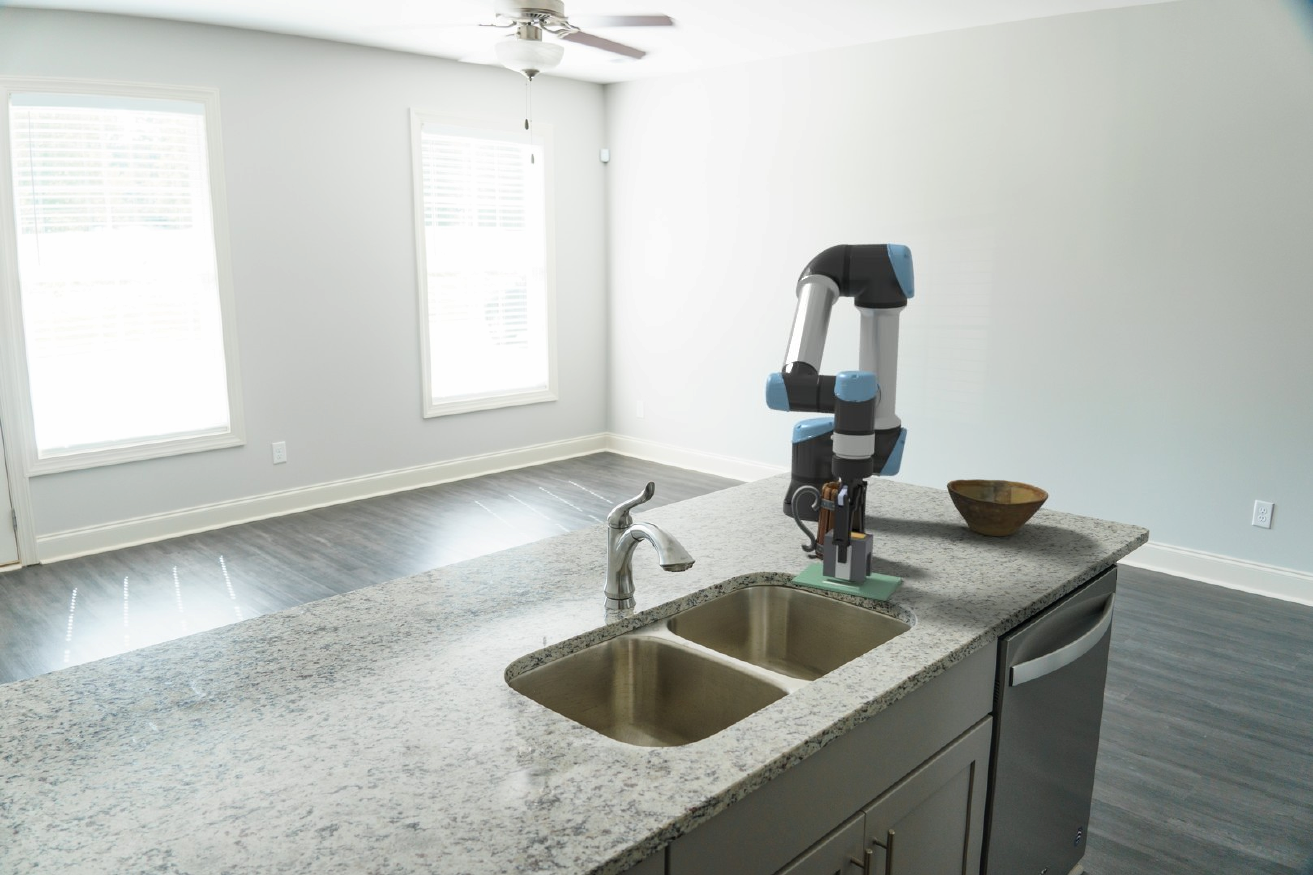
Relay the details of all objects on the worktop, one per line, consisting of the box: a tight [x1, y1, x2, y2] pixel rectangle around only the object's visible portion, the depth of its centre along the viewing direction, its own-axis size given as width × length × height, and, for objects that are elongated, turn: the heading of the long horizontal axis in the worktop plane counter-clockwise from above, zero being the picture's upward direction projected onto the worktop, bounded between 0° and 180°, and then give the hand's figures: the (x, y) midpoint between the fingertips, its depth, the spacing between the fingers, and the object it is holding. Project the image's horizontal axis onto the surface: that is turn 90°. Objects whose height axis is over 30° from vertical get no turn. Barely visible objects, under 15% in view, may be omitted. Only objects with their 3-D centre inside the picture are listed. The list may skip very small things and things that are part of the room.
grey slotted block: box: [822, 529, 874, 583], centre depth 168 cm, size 5×8×8 cm, turn 61°
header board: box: [790, 562, 903, 602], centre depth 169 cm, size 12×18×5 cm, turn 61°
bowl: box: [946, 479, 1049, 537], centre depth 202 cm, size 22×23×10 cm
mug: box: [792, 481, 866, 560], centre depth 184 cm, size 16×11×15 cm
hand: (847, 573), depth 169 cm, fingers closed on grey slotted block, 5 cm apart
